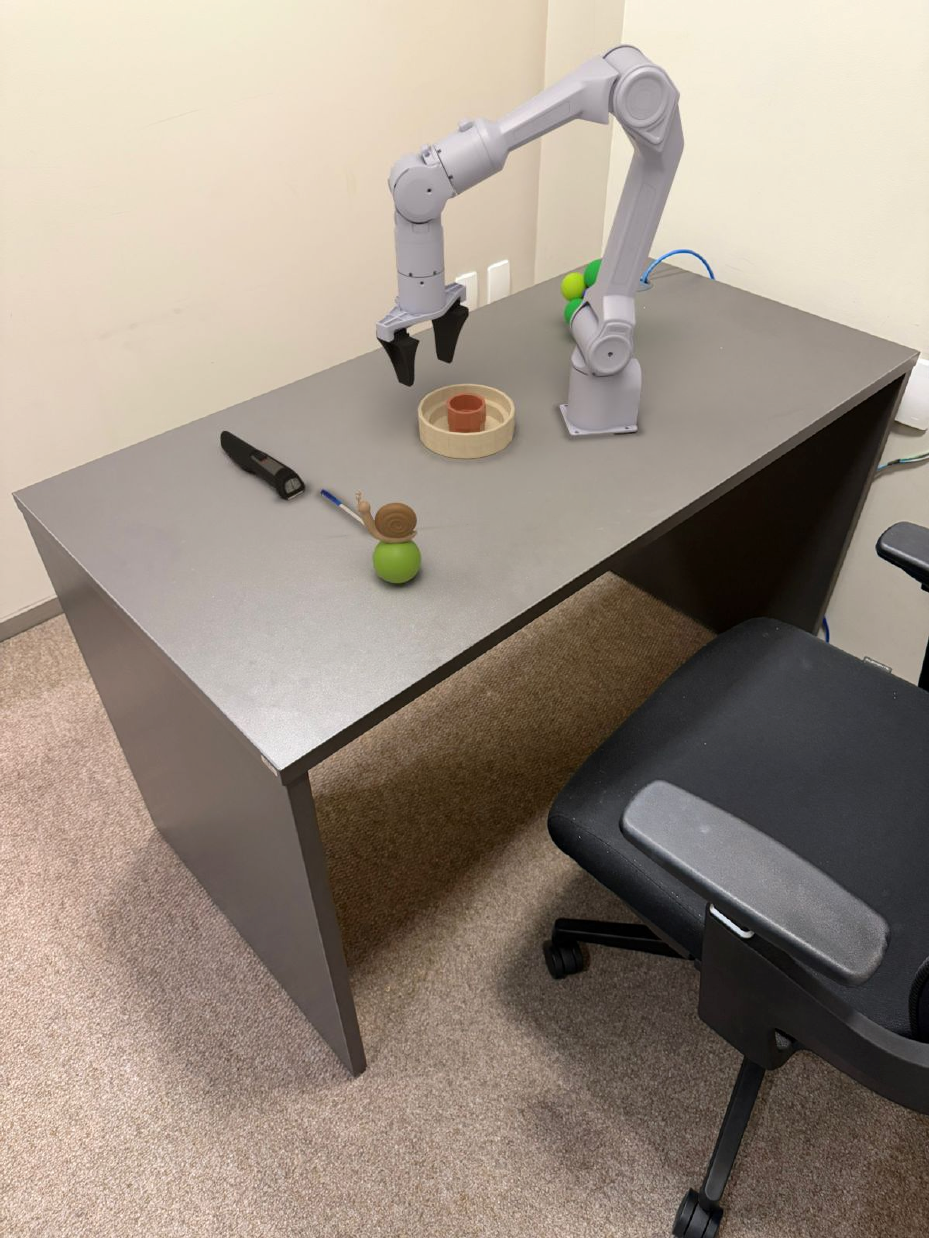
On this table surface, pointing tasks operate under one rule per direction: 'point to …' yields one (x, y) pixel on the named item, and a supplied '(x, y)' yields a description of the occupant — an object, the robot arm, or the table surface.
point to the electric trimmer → (262, 465)
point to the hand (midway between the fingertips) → (425, 371)
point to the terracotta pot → (466, 413)
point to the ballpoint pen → (341, 505)
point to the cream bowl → (466, 444)
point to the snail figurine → (392, 540)
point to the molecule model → (578, 287)
